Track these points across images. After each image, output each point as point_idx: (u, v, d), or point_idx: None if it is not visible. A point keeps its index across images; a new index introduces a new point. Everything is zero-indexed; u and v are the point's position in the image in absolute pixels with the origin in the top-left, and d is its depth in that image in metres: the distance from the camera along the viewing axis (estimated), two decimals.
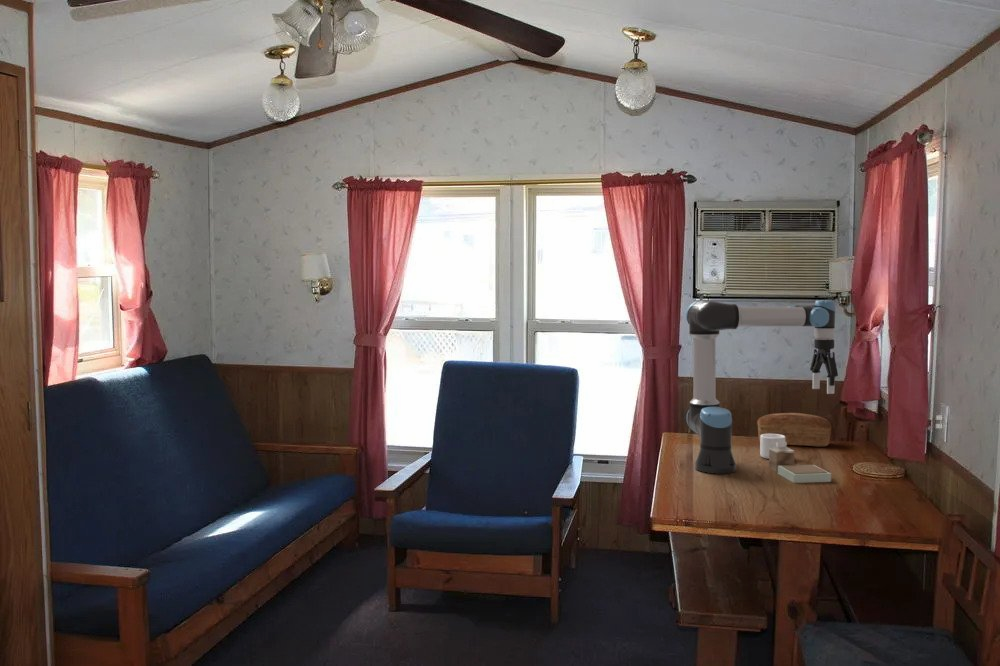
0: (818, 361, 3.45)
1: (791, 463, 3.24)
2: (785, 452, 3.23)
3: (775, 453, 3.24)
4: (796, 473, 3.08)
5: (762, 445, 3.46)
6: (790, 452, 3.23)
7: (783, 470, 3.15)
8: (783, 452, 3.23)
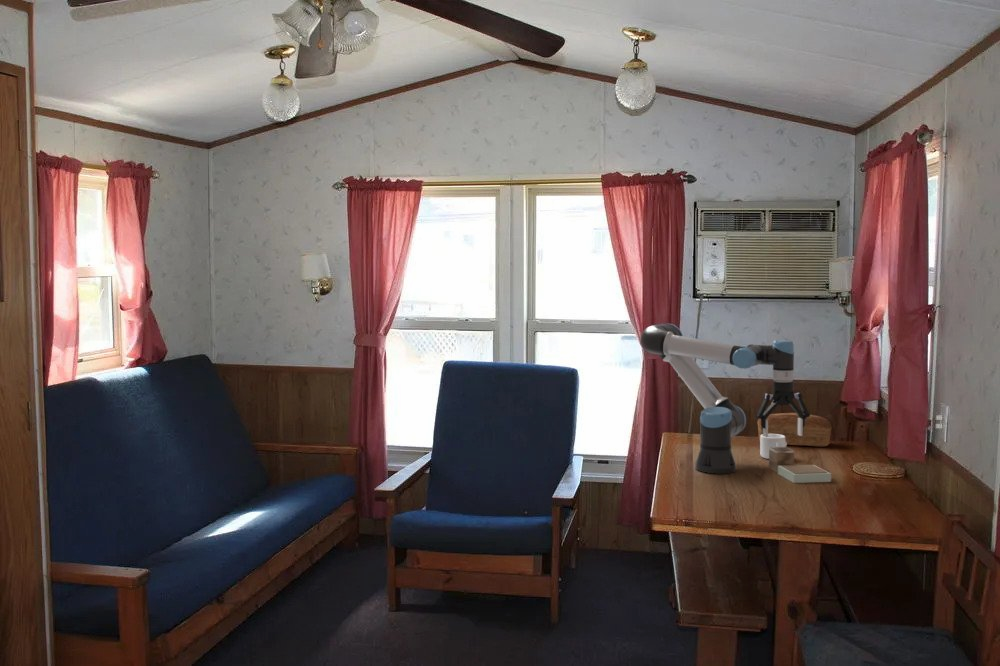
0: None
1: (791, 463, 3.24)
2: (785, 452, 3.23)
3: (775, 453, 3.24)
4: (796, 473, 3.08)
5: (762, 445, 3.46)
6: (790, 452, 3.23)
7: (783, 470, 3.15)
8: (783, 452, 3.23)
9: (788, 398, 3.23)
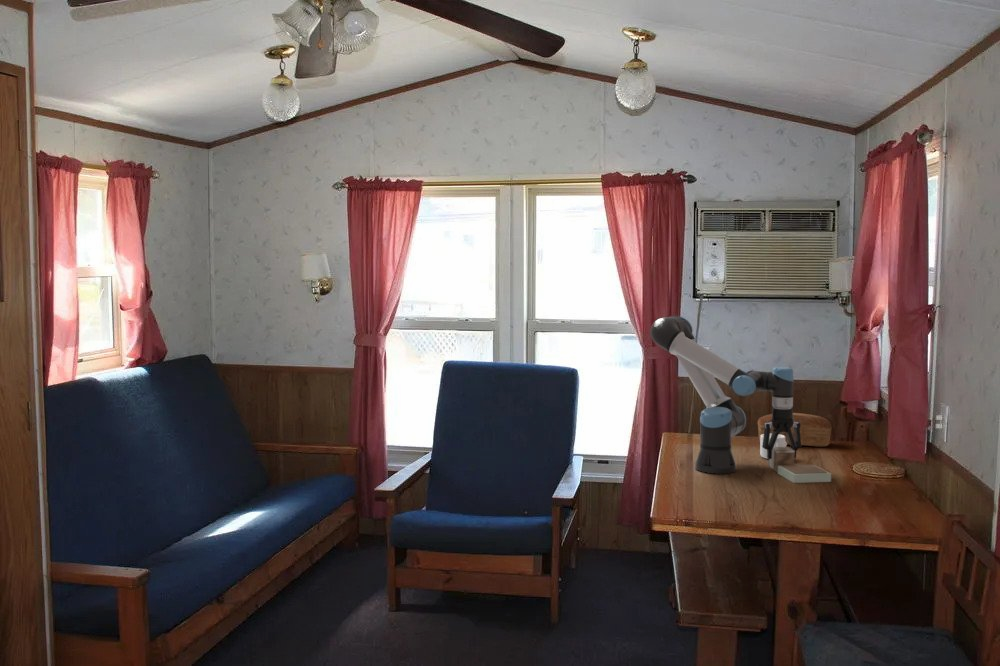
0: (786, 432, 3.27)
1: (791, 463, 3.24)
2: (785, 452, 3.23)
3: (775, 453, 3.24)
4: (796, 473, 3.08)
5: None
6: (790, 452, 3.23)
7: (783, 470, 3.15)
8: (783, 452, 3.23)
9: (787, 425, 3.24)
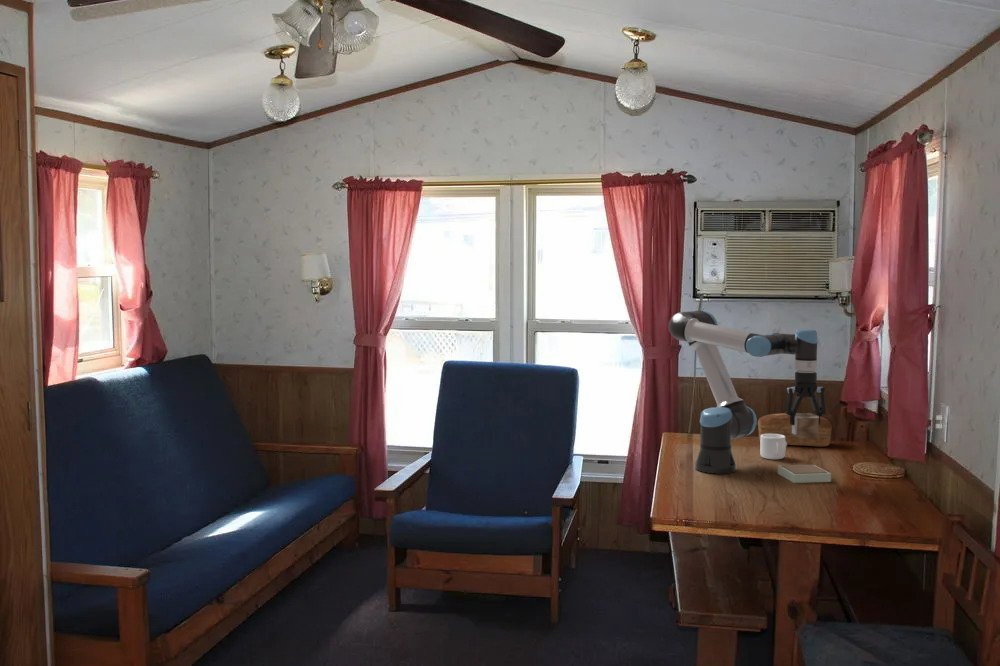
0: (809, 398, 3.13)
1: (815, 429, 3.10)
2: (809, 417, 3.09)
3: (798, 419, 3.10)
4: (796, 473, 3.08)
5: (762, 445, 3.46)
6: (814, 418, 3.09)
7: (783, 470, 3.15)
8: (807, 417, 3.09)
9: (811, 389, 3.10)
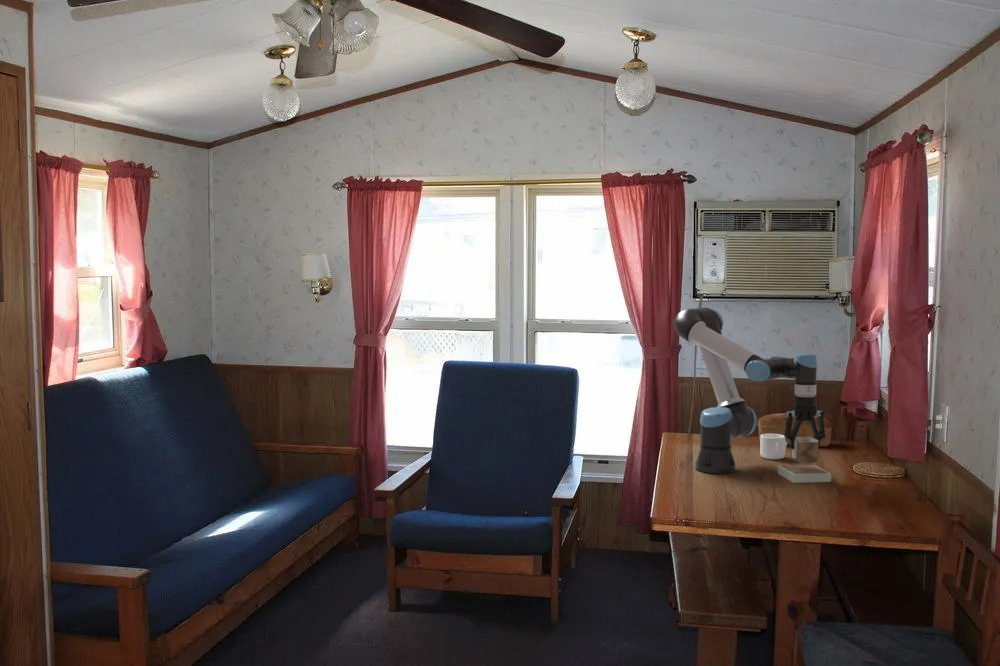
0: (809, 421, 3.14)
1: (815, 453, 3.10)
2: (808, 442, 3.10)
3: (798, 443, 3.11)
4: (796, 473, 3.08)
5: (762, 445, 3.46)
6: (814, 442, 3.10)
7: (783, 470, 3.15)
8: (806, 442, 3.10)
9: (810, 413, 3.11)
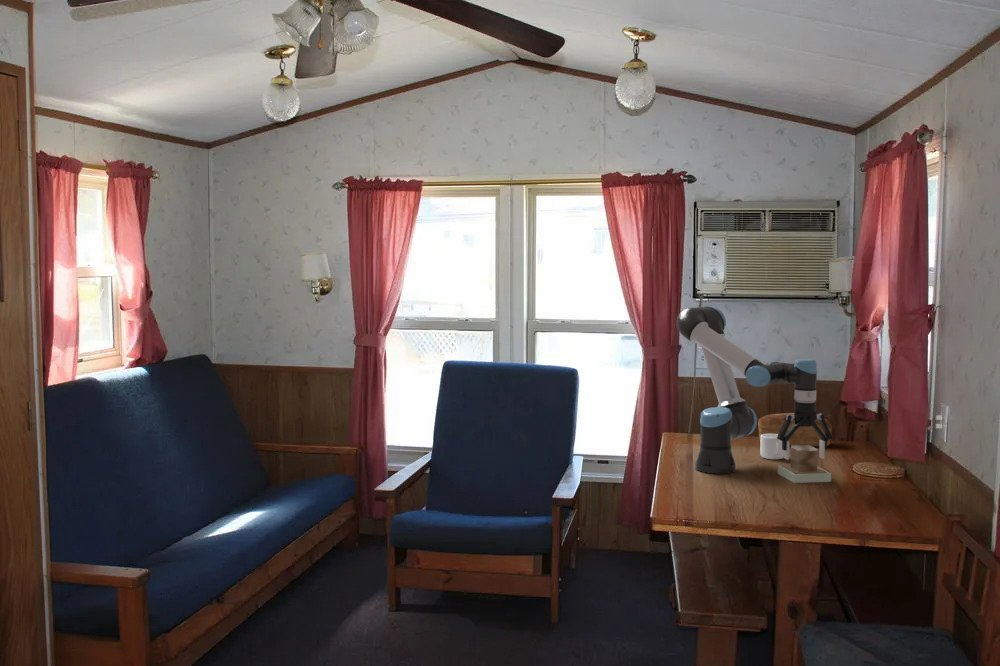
0: None
1: (814, 462, 3.11)
2: (808, 450, 3.10)
3: (797, 451, 3.11)
4: (796, 473, 3.08)
5: (762, 445, 3.46)
6: (813, 451, 3.10)
7: (783, 470, 3.15)
8: (806, 450, 3.10)
9: (810, 419, 3.11)
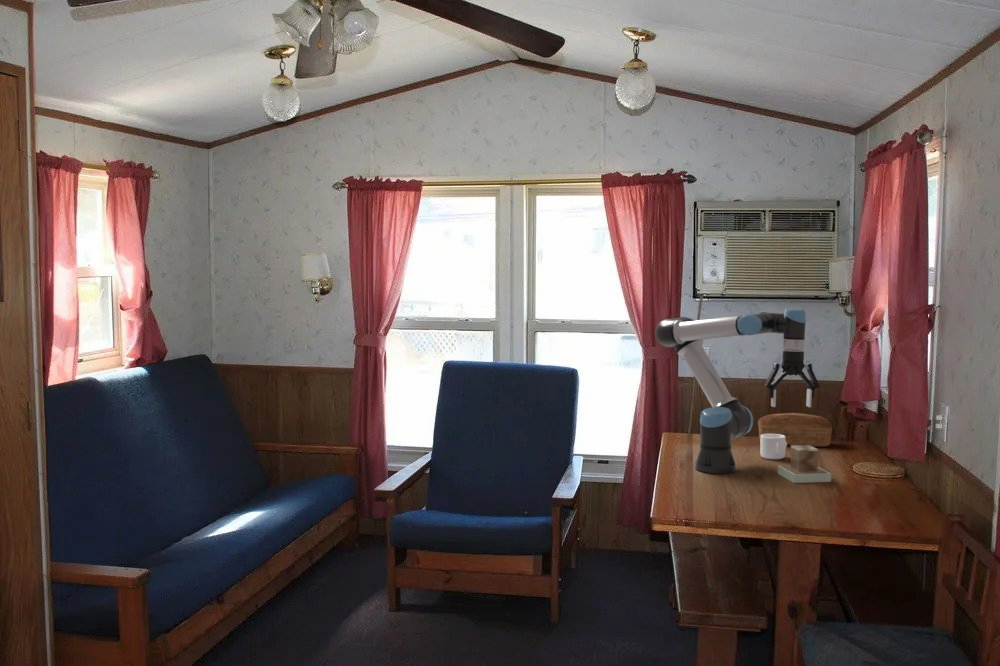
0: (799, 375, 3.19)
1: (814, 462, 3.11)
2: (808, 450, 3.10)
3: (797, 451, 3.11)
4: (796, 473, 3.08)
5: (762, 445, 3.46)
6: (813, 451, 3.10)
7: (783, 470, 3.15)
8: (806, 450, 3.10)
9: (798, 368, 3.16)
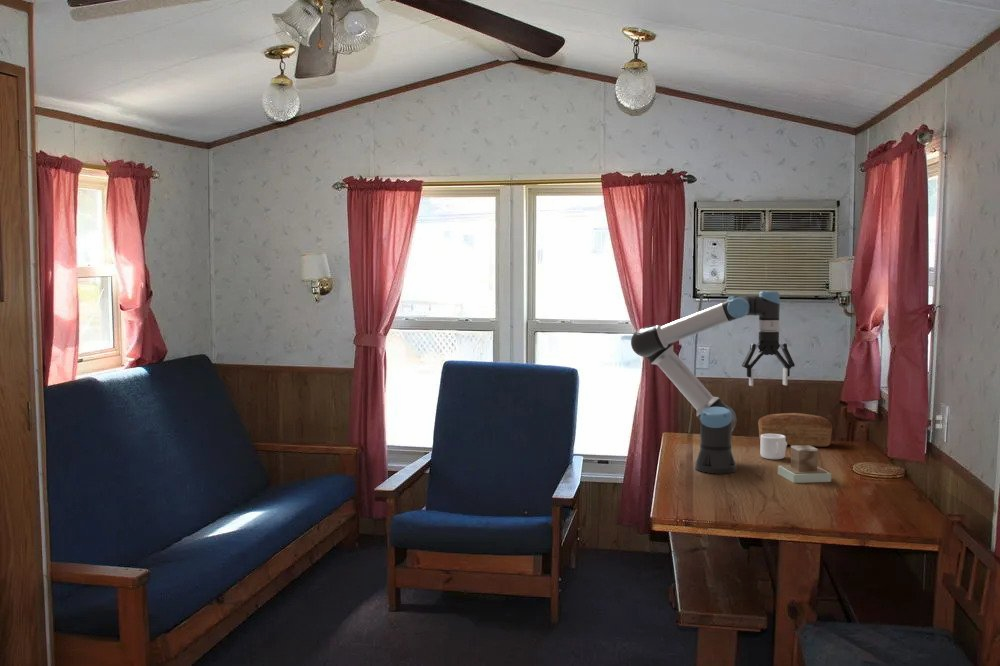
0: (775, 355, 3.32)
1: (814, 462, 3.11)
2: (808, 450, 3.10)
3: (797, 451, 3.11)
4: (796, 473, 3.08)
5: (762, 445, 3.46)
6: (813, 451, 3.10)
7: (783, 470, 3.15)
8: (806, 450, 3.10)
9: (773, 348, 3.28)
